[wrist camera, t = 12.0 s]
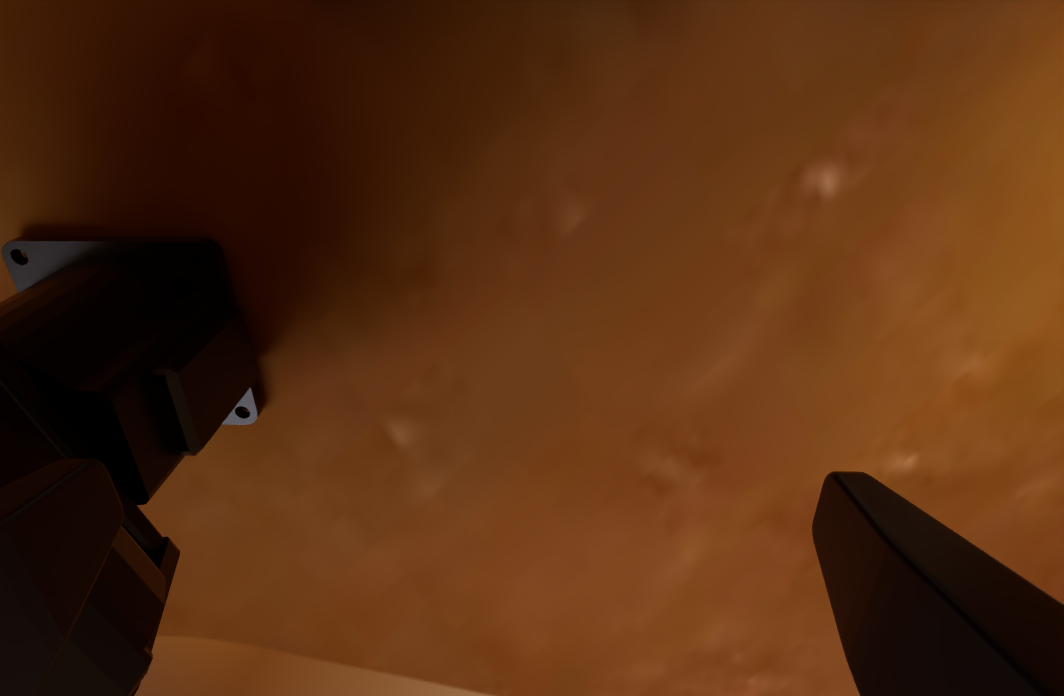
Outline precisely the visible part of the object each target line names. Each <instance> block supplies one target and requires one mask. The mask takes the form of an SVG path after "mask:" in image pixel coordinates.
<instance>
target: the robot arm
mask: <svg viewBox="0 0 1064 696" xmlns="http://www.w3.org/2000/svg"><path fill="white" fill-rule="evenodd" d="M20 250H21V251H23V252H24V253H25V254H26V255H27V257H28V259H26V258H25V257H23V255H22V254H21V251H20ZM199 250H201V251H204V252H205V253H206V254H207V255H208V256H209V258H210V262H209V261H205V260H204V259H202V258H201V256H200V255H199ZM2 255H3V258H4V261H5V263H6V265H7V268H8V270H9V272H10V275H11V277H12V279H13V282H14V284H15V286H16V289H17V291H18V293H17V294H15V295H13V296H12V297H10V298H8V299H6V300H4V301H3V302H1V303H0V696H134V695H135V693H136V691H137V690H138V688H139V685H140V683H141V681H142V680H143V678H144V677H145V675H146V674H147V672H148V670H149V667H150V664H151V662H152V659H153V657H152V656H153V655H152V653H151V651H152V648H153V644H154V641H155V637H156V634H157V631H158V627H159V624H160V620H161V617H162V613H163V610H164V607H165V603H166V600H167V596H168V593H169V590H170V586H171V583H172V579H173V576H174V572H175V569H176V566H177V562H178V559H179V555H180V551H179V549H178V548H177V547H176V546H175V545H174V543H173V542H172V541H171V540H170V538H168V537H162V535H161V534H160V533H159V532H158V531H157V529H156V528H155V527H154V526H153V525H152V523H151V522H150V521H149V520H148V519H147V517H146V516H145V515H144V514H143V512H142V511H141V510H140V509H139V508H138V506H137V505H144V504H146V503H147V502H148V501H149V500H150V499H151V497H152V496H153V495H154V494H155V492H156V491H157V490H158V489H159V488H160V486H161V485H162V484H163V483H164V481H165V480H166V479H167V478H168V476H169V475H170V474H171V473H172V471H173V470H174V469H175V468H176V466H177V465H178V464H179V463H180V461H181V460H182V459H183V458H184V456H195V455H197V454H198V453H199V452H200V451H201V450H202V449H203V448H204V446H205V445H206V444H207V442H208V441H209V440H210V439H211V437H212V436H213V435H214V433H215V432H216V431H217V430H218V428H219V427H220V426H221V424H236V425H247V424H252V423H253V422H255V421H256V419H257V418H258V416H259V415H260V413H261V412H262V404H261V400H260V396H259V392H258V388H257V384H256V380H257V378H258V371H257V367H256V363H255V359H254V355H253V351H252V347H251V343H250V339H249V335H248V331H247V327H246V323H245V318H244V314H243V311H242V310H241V309H240V307H239V306H238V305H237V304H236V301H235V297H234V293H233V289H232V285H231V281H230V277H229V273H228V269H227V265H226V261H225V257H224V253H223V251H222V249H221V247H220V246H219V245H218V244H217V243H216V242H215V241H213V240H211V239H208V238H192V237H19V238H15V239H13V240H11V241H9V242H7V243H6V244H4V245H3V248H2ZM240 406H243V407H246V408H247V409H248V410H249V412H246V411H244V410H243V409H242V408H241V407H240ZM812 534H813V541H814V545H815V548H816V552H817V556H818V559H819V563H820V567H821V570H822V574H823V578H824V581H825V585H826V589H827V592H828V596H829V600H830V603H831V607H832V610H833V614H834V618H835V621H836V625H837V629H838V632H839V636H840V640H841V643H842V646H843V650H844V653H845V656H846V660H847V662H848V665H849V668H850V671H851V673H852V676H853V679H854V682H855V684H856V687H857V689H858V692H859V694H860V696H1064V604H1062V603H1061V602H1059V601H1058V600H1056V599H1055V598H1053V597H1052V596H1050V595H1049V594H1047V593H1046V592H1044V591H1043V590H1041V589H1040V588H1038V587H1037V586H1035V585H1034V584H1032V583H1031V582H1029V581H1028V580H1026V579H1025V578H1023V577H1022V576H1020V575H1019V574H1017V573H1016V572H1014V571H1013V570H1011V569H1010V568H1008V567H1007V566H1005V565H1004V564H1002V563H1001V562H999V561H998V560H996V559H995V558H993V557H992V556H990V555H989V554H987V553H986V552H984V551H983V550H981V549H980V548H978V547H977V546H975V545H974V544H972V543H971V542H969V541H968V540H966V539H965V538H963V537H962V536H960V535H959V534H957V533H956V532H954V531H953V530H951V529H950V528H948V527H947V526H945V525H944V524H942V523H941V522H939V521H938V520H936V519H935V518H933V517H932V516H930V515H929V514H927V513H926V512H924V511H923V510H921V509H920V508H918V507H917V506H915V505H914V504H912V503H911V502H909V501H908V500H906V499H905V498H903V497H902V496H900V495H899V494H897V493H896V492H894V491H893V490H891V489H890V488H888V487H887V486H885V485H884V484H882V483H881V482H879V481H878V480H876V479H875V478H873V477H872V476H870V475H868V474H866V473H864V472H845V471H834V472H831V473H829V474H828V475H827V476H826V478H825V480H824V483H823V486H822V490H821V493H820V497H819V501H818V504H817V508H816V512H815V515H814V519H813V525H812Z"/></svg>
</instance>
